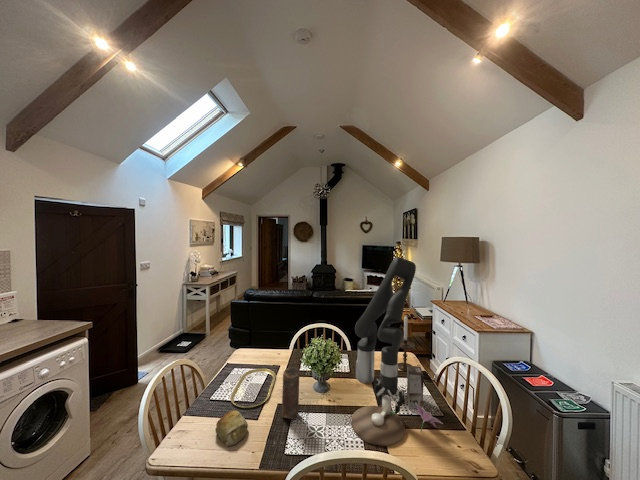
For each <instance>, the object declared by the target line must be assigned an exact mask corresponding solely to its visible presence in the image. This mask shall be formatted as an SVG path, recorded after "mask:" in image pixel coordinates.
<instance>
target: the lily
mask: <svg viewBox="0 0 640 480" xmlns="http://www.w3.org/2000/svg"><path fill="white" fill-rule="evenodd" d="M415 404H416V403H415ZM416 406H417V408H418V409H414V408H411V410H413V411H415V412H416V413H417V414H418V415H420V417H421V418H420V419H422V425H421V429H420V433H422V431H423V426H424V423H425V422H428V423H430V424H432V425H433V427H435V428H437V425H436V424H435V423H439V424H441V425H444V423H443V422H442V421H441V420H439V419H438V418H436V417H434V416H433V415H432V413H431V412H429V411H426V410H425V409H424V407H423V408H422V407H420V406H419V405H418V404H416Z"/></svg>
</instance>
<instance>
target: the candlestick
mask: <svg viewBox="0 0 640 480" xmlns="http://www.w3.org/2000/svg"><path fill="white" fill-rule="evenodd" d="M407 312H408V310H407V309H406V311H405V315H404V318H403V319H404V320H403V321H404V322H403V338H402V341H401V344H400V347H399V349H402V350H403V354H402V357H403V358H402V360H403V362H398V370H399V371H402V372H407V369H408V366H413V365H412V364H411V363H408V362H407V361H408V354H407V350H413V349H415V348H416V345H415V343H414V342H412V341H410V340H409V339H408V323H409V321H408V316H407Z"/></svg>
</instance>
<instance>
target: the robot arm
mask: <svg viewBox="0 0 640 480" xmlns="http://www.w3.org/2000/svg"><path fill="white" fill-rule="evenodd" d="M416 269H417V266H416V264H415V263H414V262H413V261H411V260H408V259H406V258H403V257H400V256H396V257H395V258H393V260H392V261H391V263H390V264H389V267H388V269H387V271H386V273H385V275H384V278H383V280H382V281H381V282H380V285H379V286H378V288H377V290H376V292H374V295H373V296H372V299H371V300H370V301H369V303H368V305H367V307H366V308H365V311H364V312H363V313H362V314H361V316H360V317H359V319H358V320H357V321H356V323H355V326H354V333H355V335H356V336H357V337H358V338H361V339H360V340H358V342H357V356H356V357H357V360H355V378H356V380H357V381H358V382H360V383H362V384H371V383H373V393H374V394H376V397H377V404H378V405H379V406H380V405H382V396H383V394H384V395H387V396H389V397H391V398H392V400H391V401H393V402H394V412H395V413H396V414H397V415H398V414H399V413H400V412H401V407H402V406H403V405H405V402H406V401H405V400H406V399H405V390H404V389H402V390H400V389H399V388H398V386H399V385H398V384H399V369H398V363H399V359H398V358H399V350H400V348H399V347H400V344H401V341H402V339H403V338H404V333H403V332H402V330H401V329H400V328H398V327H394V326H391V325H392V324H398V323H399V324H400V323H401V322H402V319H403V314H404V308H405V304H406V301H407V298H408V295H409V291H410V289H411V286H412V284H413V280H414V278H415V275H416ZM394 278H399V279H402V280H403V283H402V285H401V287H400V288H399V289H398V290H397V291H396V292H395V293H393V280H394ZM383 314H385V315H384V317H383V320H382V322H381V324H380V326H379V328H378V326H377V323H376V320H378V319H379V318H380V317H382V315H383ZM377 339H378V340H379V341H380V342H381V343H382V342H383V343H385V344H388V345H389V344H390V345H391V346H384V347H382V349H381V351H380V353H381V354H380V356H381V357H380V358H381V359H380V365H379V366H380V370H379V371H380V372H379V373H380V374H379V377H380V378H376V379H375V354H376V353H375V349H376V344H377Z"/></svg>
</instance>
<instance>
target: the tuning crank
mask: <svg viewBox="0 0 640 480" xmlns="http://www.w3.org/2000/svg"><path fill="white" fill-rule="evenodd" d="M392 401H393V400H392V398H391V397H389V396H388V395H385V394H384V395H382V404H381V407H382V413H381V414H379V413H374V414H372V423H373V424H374V425H377V426H381V425H383V424H384V416H385V415H390V414H391V411H392Z"/></svg>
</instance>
